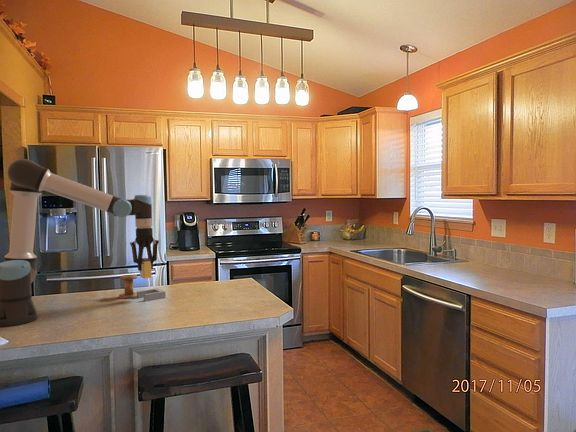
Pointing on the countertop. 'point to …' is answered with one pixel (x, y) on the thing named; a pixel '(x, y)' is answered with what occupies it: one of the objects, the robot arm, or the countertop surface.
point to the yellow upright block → (146, 267)
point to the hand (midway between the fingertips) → (145, 276)
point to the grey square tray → (151, 294)
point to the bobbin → (128, 287)
